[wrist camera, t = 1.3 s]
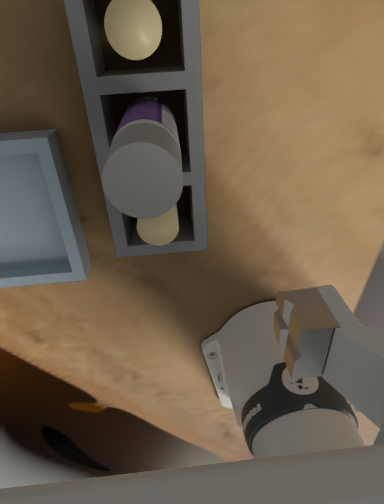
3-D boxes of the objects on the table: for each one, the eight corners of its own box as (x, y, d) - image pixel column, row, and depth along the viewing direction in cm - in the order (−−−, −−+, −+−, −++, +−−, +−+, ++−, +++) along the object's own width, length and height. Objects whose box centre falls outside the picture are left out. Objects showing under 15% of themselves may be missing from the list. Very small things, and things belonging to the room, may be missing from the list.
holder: (202, 225, 38) (210, 261, 32) (121, 232, 37) (114, 269, 31) (191, -40, 25) (200, -62, 20) (71, -34, 25) (44, -53, 19)
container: (117, 136, 32) (89, 205, 19) (133, 85, 30) (112, 124, 17) (165, 155, 33) (167, 230, 21) (183, 107, 31) (198, 159, 18)
